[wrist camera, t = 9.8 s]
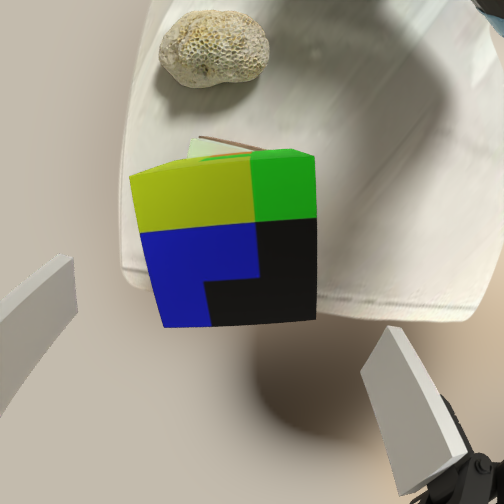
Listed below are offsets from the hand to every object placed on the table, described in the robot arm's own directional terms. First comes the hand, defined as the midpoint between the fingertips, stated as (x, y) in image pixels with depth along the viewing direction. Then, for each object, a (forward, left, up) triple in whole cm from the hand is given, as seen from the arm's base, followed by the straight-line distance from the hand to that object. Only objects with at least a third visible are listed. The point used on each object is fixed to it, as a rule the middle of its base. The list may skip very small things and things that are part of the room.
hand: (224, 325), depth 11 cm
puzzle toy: (0, -1, -16) cm, 16 cm away
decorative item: (-16, -7, -26) cm, 31 cm away
